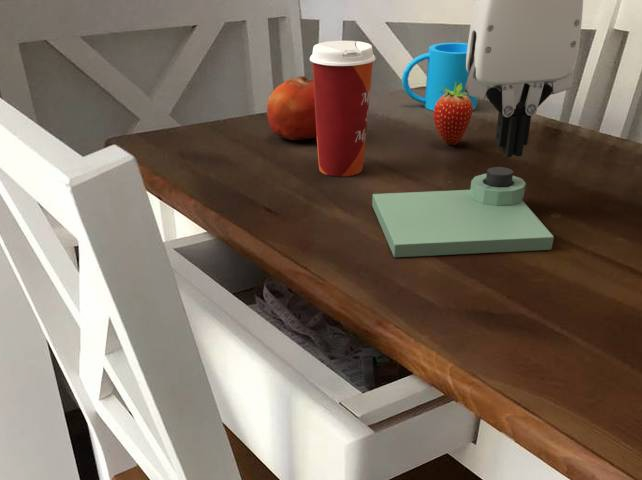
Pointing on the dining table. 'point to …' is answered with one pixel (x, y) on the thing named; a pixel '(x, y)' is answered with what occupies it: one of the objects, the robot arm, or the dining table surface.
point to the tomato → (293, 109)
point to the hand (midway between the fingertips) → (509, 152)
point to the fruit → (452, 115)
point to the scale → (461, 221)
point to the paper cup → (341, 104)
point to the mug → (441, 72)
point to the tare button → (499, 177)
